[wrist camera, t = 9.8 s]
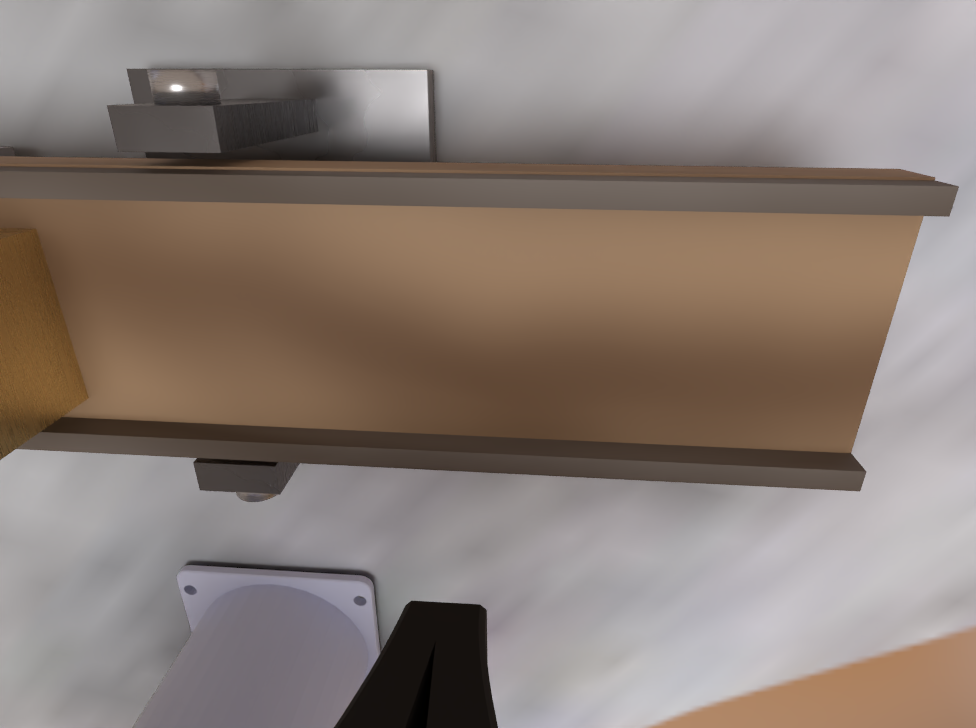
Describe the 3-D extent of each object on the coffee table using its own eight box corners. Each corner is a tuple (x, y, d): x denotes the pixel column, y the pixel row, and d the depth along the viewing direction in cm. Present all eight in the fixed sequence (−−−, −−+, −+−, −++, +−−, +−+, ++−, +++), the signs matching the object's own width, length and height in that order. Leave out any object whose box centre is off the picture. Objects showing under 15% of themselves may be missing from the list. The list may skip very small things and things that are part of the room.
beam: (766, 373, 18) (859, 493, 13) (-124, 339, 20) (-361, 431, 15) (815, 148, 15) (959, 183, 10) (-217, 136, 18) (-548, 159, 12)
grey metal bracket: (443, 397, 20) (404, 524, 15) (215, 388, 21) (90, 507, 15) (433, 70, 16) (373, 63, 10) (148, 69, 17) (-62, 62, 11)
